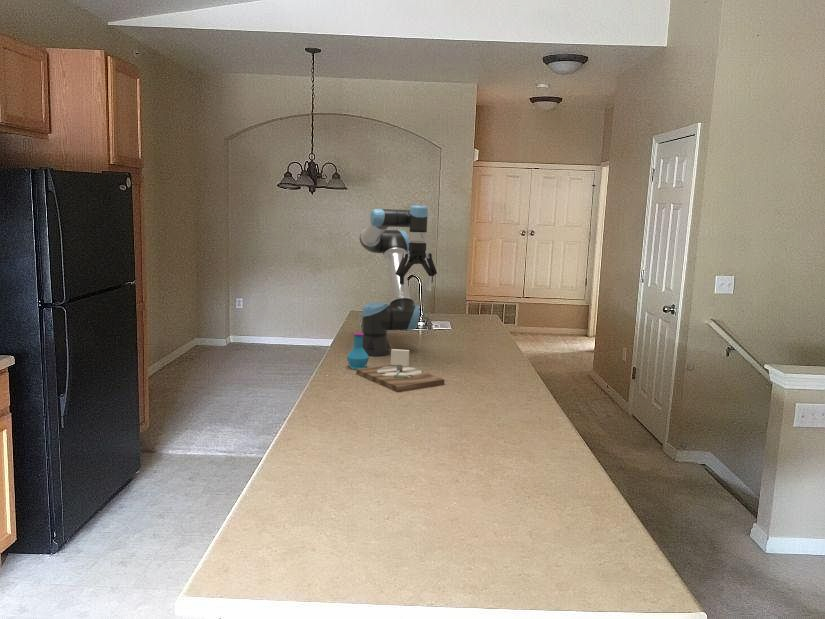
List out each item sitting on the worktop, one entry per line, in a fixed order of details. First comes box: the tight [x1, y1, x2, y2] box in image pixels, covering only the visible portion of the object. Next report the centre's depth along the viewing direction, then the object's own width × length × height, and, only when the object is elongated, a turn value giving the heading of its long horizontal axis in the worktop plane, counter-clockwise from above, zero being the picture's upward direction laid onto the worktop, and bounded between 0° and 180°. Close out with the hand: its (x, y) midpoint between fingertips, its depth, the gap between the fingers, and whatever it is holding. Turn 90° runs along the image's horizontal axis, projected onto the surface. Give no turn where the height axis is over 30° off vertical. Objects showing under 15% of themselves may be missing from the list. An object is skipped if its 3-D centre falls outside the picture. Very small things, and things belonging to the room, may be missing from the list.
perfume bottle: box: [346, 331, 370, 370], centre depth 278 cm, size 9×9×15 cm
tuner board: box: [355, 364, 446, 393], centre depth 262 cm, size 30×22×2 cm
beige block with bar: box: [390, 348, 410, 376], centre depth 261 cm, size 7×11×9 cm, turn 171°
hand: (416, 291), depth 286 cm, fingers open, 13 cm apart
